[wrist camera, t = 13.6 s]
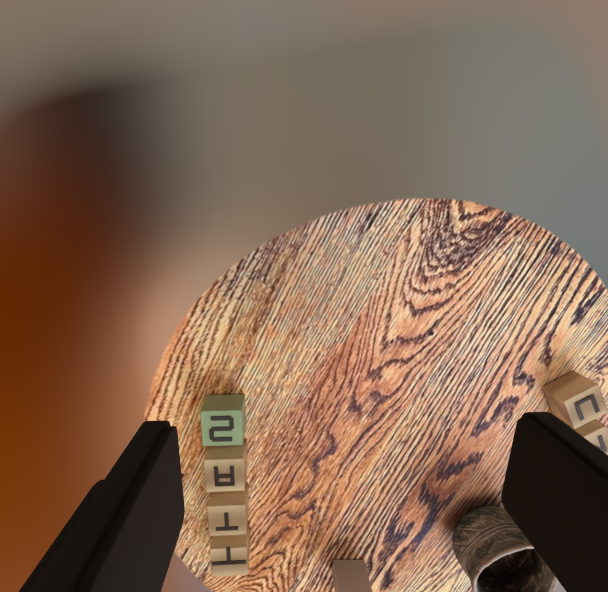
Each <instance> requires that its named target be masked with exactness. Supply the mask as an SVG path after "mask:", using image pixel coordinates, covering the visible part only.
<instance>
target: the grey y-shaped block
mask: <svg viewBox="0 0 608 592" xmlns="http://www.w3.org/2000/svg"><path fill="white" fill-rule="evenodd" d="M332 575H333V582H334V589H335V592H372V589H371V585H370V581H369V577H368V573H367V569H366V565H365V561H364V560H341V559H334V560H333V564H332Z"/></svg>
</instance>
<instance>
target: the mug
mask: <svg viewBox="0 0 608 592" xmlns="http://www.w3.org/2000/svg"><path fill="white" fill-rule="evenodd" d="M452 541H453V550H454V553H455V556H456V558H457V560H458V562H459V563H460V565H461V567H462V568H463V570H464V571H465V573H466V574H467V576H468V577H469V578H470V580H471V584H472V589H473V591H474V592H554V591H555V589H556V586H557V584H558V579H557V578H556V577H555V575H554V574H553V573H552V571H551V570H550V569H549V567H548V566H547V565H546V563H545V562H544V561H543V559H542V558H541V557H540V555H539V554H538V553H537V551H536V550H535V549H534V547H533V546H532V545H531V543H530V542H529V541H528V539H527V538H526V537H525V535H524V534H523V533H522V531H521V530H520V529H519V527H518V526H517V525H516V523H515V522H514V521H513V519H512V518H511V517H510V516H509V514H508V513H507V511H506V510H505V509H502V508H499V507H495V506H484V507H479V508H476V509H473V510H472V511H470V512H468V513H467V514H466V515H465V516H464V517H463V518H462V519H461V520H460V521H459V522H458V524H457V527H456V529H455V531H454V534H453V539H452Z"/></svg>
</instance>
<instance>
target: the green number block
mask: <svg viewBox="0 0 608 592" xmlns="http://www.w3.org/2000/svg"><path fill="white" fill-rule="evenodd" d="M200 415H201V430H202V444H203V446H224V445H242V444H243V440H244V434H245V428H246V415H245V394H233V395H207V397H206V399H205V402H204V404H203V406H202V409H201V411H200Z"/></svg>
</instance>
